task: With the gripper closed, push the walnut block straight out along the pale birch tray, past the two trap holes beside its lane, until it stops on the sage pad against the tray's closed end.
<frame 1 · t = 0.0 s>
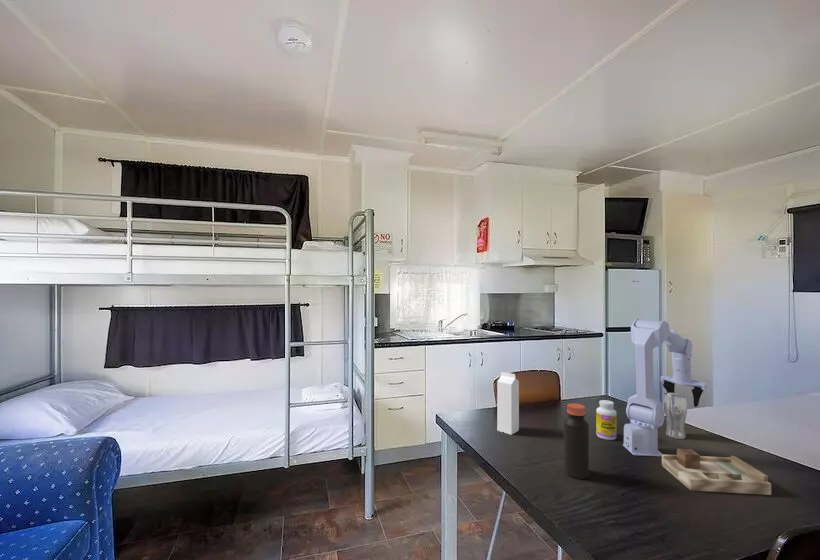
hand: (684, 403, 144), 11 cm above the table, tool pointing down, fingers open, 7 cm apart
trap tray: (712, 479, 108), on the table
vinegar: (576, 474, 111), on the table
supplement bottle: (606, 437, 138), on the table
walnut block: (688, 465, 111), point 2 cm above the table, touching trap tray
milk: (508, 431, 143), on the table
beer glass: (675, 436, 139), on the table
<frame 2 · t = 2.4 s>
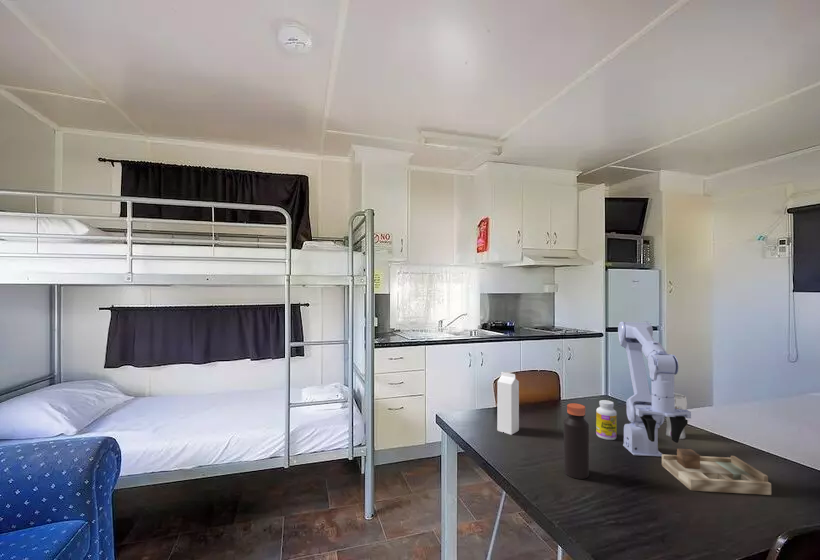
hand: (663, 440, 112), 9 cm above the table, tool pointing down, fingers open, 6 cm apart
nothing on the table moved.
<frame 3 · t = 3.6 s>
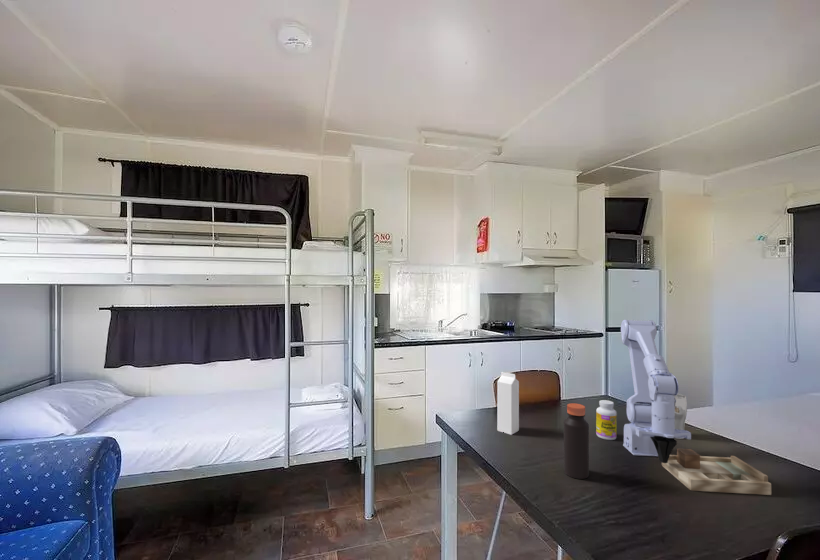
hand: (663, 461, 112), 3 cm above the table, tool pointing down, fingers closed
nothing on the table moved.
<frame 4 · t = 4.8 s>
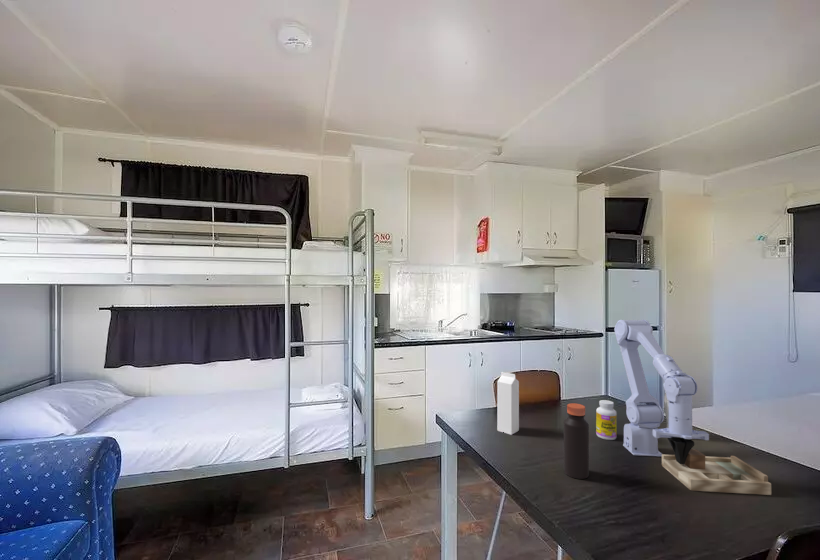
hand: (680, 462, 111), 3 cm above the table, tool pointing down, fingers closed
walnut block: (693, 465, 111), point 3 cm above the table, touching gripper, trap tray
everything else where it was.
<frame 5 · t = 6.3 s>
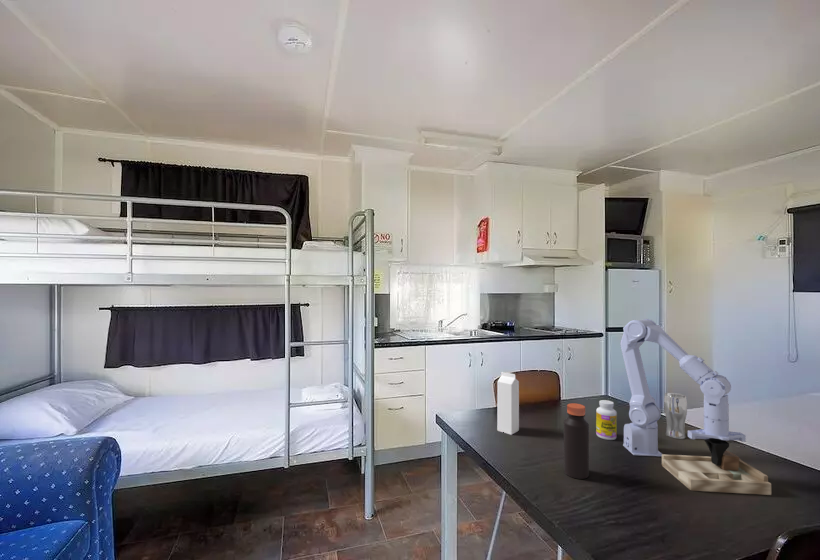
hand: (716, 464, 110), 3 cm above the table, tool pointing down, fingers closed, pressing on walnut block
walnut block: (725, 466, 110), point 3 cm above the table, touching gripper, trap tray
everything else where it was.
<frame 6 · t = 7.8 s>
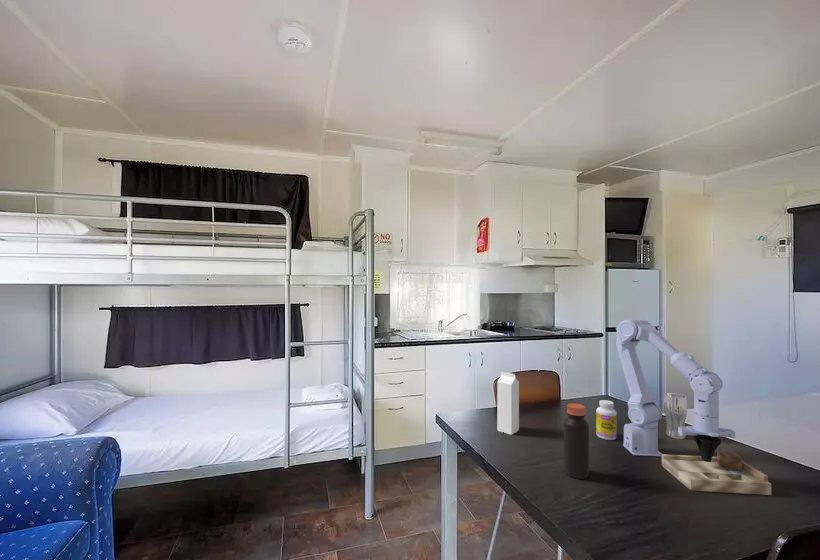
hand: (706, 460, 111), 4 cm above the table, tool pointing down, fingers closed
walnut block: (729, 467, 110), point 2 cm above the table, touching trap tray
everything else where it was.
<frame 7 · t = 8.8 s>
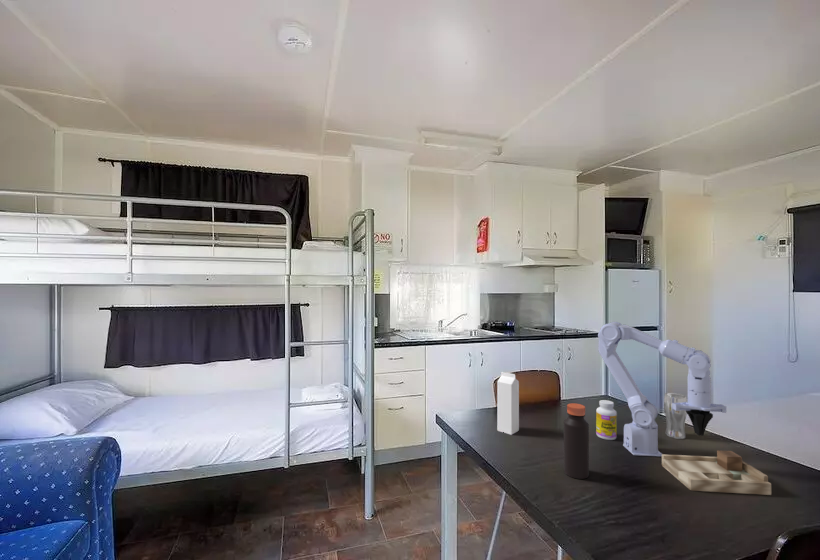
hand: (699, 434, 117), 9 cm above the table, tool pointing down, fingers closed
nothing on the table moved.
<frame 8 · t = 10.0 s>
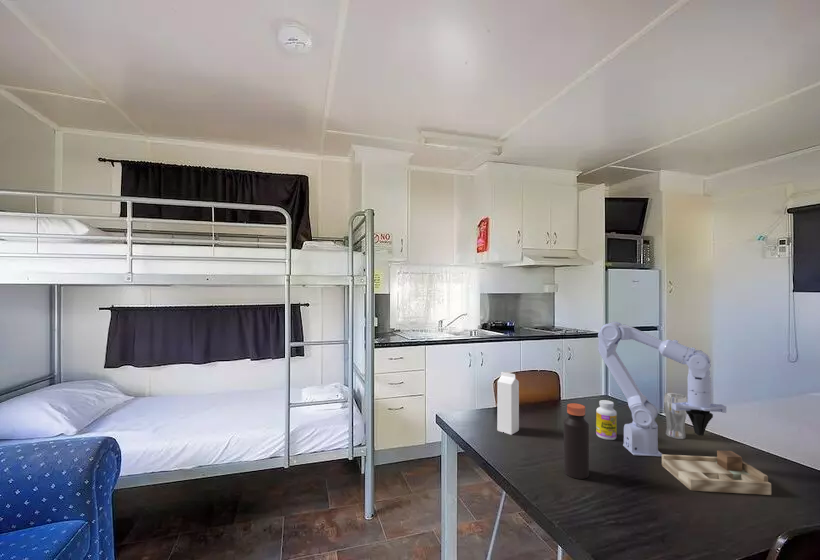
hand: (699, 434, 117), 9 cm above the table, tool pointing down, fingers closed
nothing on the table moved.
at the end: walnut block 0.3 cm from the target spot on the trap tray, point 2.5 cm above the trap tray's base; walnut block tilted 0°; walnut block moved 11.2 cm from its start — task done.
